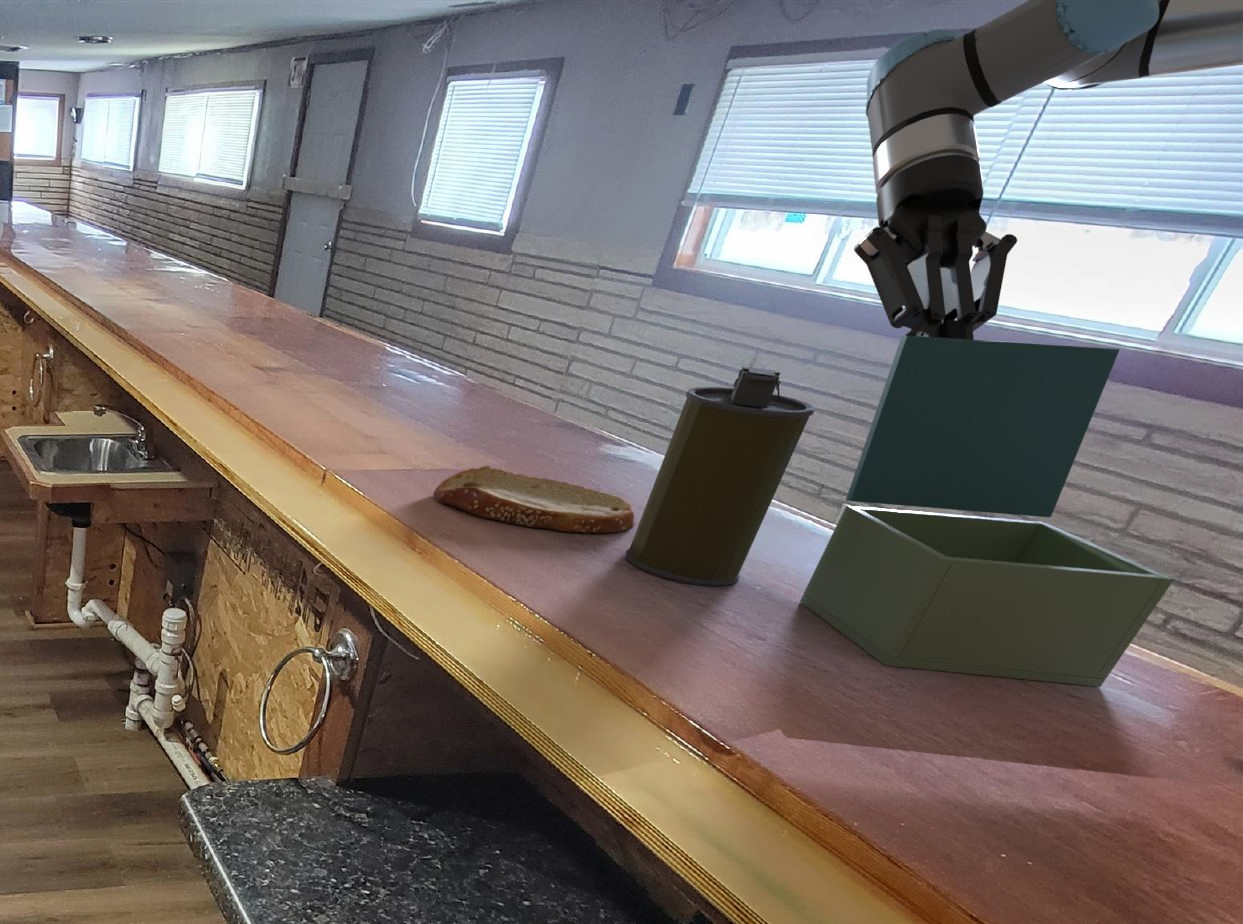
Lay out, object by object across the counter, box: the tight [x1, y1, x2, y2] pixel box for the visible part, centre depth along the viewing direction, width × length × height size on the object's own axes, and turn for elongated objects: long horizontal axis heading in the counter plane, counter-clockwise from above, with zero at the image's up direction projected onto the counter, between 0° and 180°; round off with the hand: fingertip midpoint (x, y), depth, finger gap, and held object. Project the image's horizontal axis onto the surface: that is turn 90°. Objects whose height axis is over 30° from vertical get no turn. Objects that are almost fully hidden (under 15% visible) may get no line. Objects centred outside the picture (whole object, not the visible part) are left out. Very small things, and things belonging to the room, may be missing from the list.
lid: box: [845, 335, 1121, 518], centre depth 88 cm, size 14×17×4 cm
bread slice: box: [433, 465, 636, 534], centre depth 115 cm, size 18×18×4 cm
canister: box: [625, 366, 816, 587], centre depth 97 cm, size 11×10×20 cm
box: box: [799, 505, 1175, 688], centre depth 86 cm, size 14×17×10 cm
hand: (950, 389), depth 90 cm, fingers closed
